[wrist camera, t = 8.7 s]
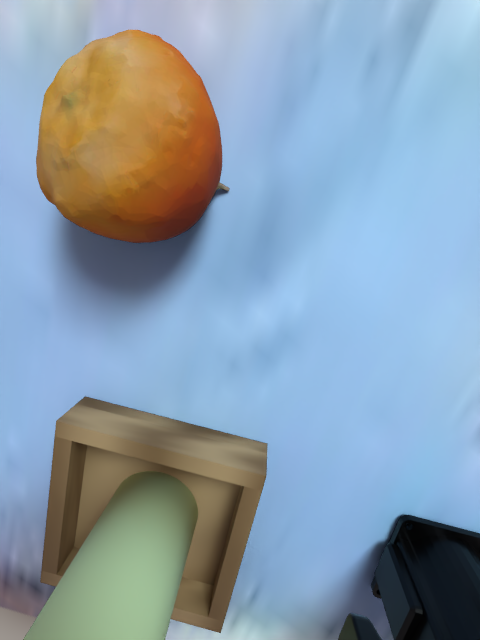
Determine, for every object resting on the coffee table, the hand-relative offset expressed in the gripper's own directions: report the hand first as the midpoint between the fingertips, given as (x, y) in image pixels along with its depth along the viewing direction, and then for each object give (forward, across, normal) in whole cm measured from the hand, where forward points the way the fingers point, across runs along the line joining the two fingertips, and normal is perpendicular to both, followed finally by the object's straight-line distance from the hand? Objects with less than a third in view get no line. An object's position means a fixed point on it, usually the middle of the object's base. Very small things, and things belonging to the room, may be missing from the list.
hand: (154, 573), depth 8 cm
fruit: (+13, +6, -10) cm, 18 cm away
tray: (+13, +2, +10) cm, 17 cm away
